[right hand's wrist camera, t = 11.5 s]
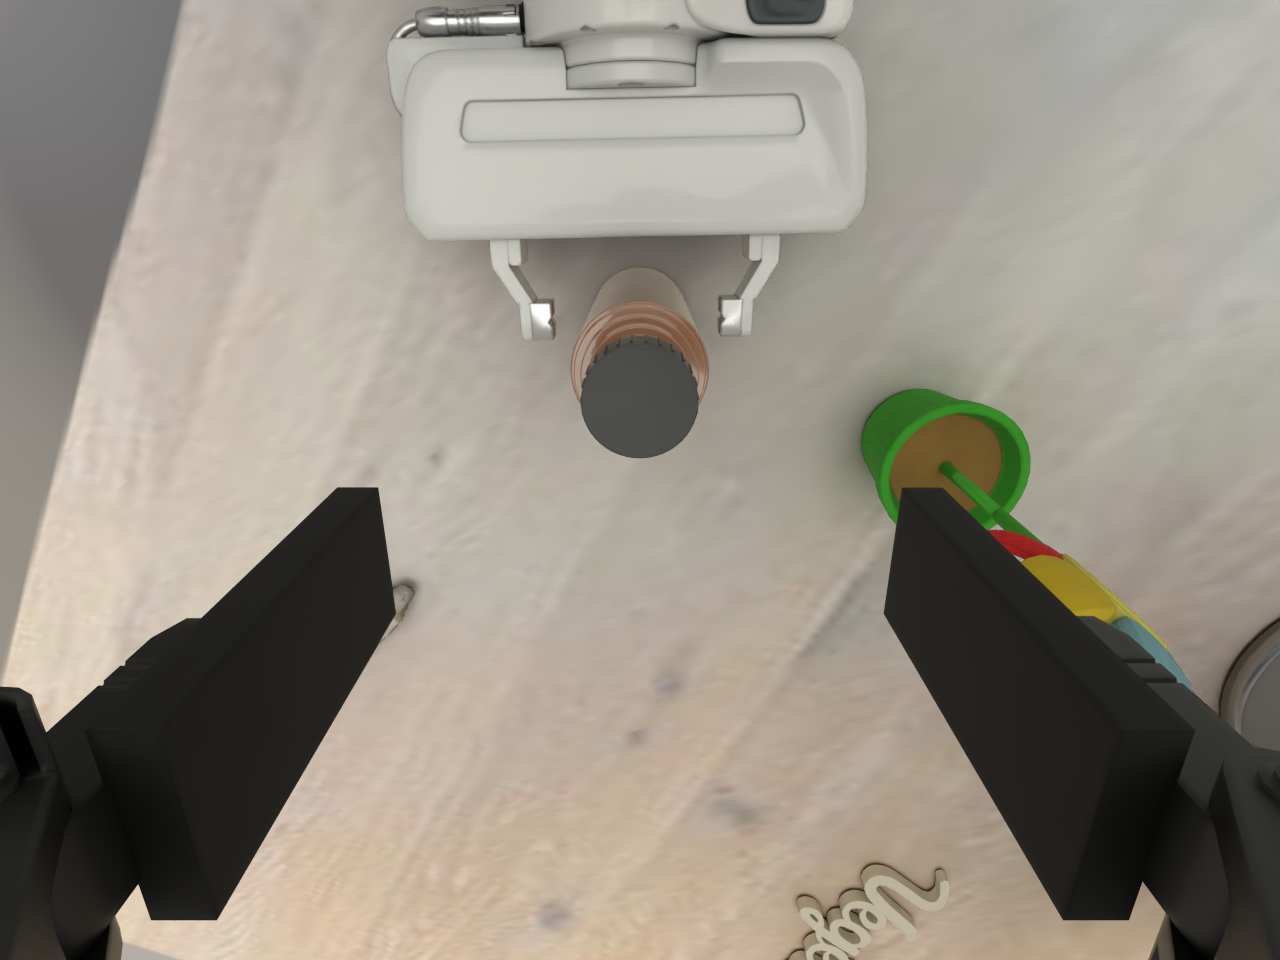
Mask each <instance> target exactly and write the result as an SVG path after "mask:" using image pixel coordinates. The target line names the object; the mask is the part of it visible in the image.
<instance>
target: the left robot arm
mask: <svg viewBox="0 0 1280 960" xmlns="http://www.w3.org/2000/svg"><path fill="white" fill-rule="evenodd" d="M853 3H854V0H523V2H522V4H519V5H515V4H512V5H492V6H479V7H474V8H472V9H471V8H467V9H459V10H458V9H448V8H447V7H428V8H423V9H420V10H417V11H416V15H415V19H412V20H409V21H407V22H405V23H404V24H402V25H401V26H400V27H399V28H398V29H397V30H396V31H395V33H394V34H393V36H392V38H391V40H390V42H389V44H388V49H387V67H388V75H389V82H390V90H391V96H392V100H393V103H394V106H395V108H396V110H397V111H398V113H399V115H400V116H401V117H402V183H403V197H404V207H405V213H406V217H407V220H408V221H409V223H410V224H411V225H412V226H413V227H414V229H415V230H416V231H417V232H418V233H419V234H420V235H421V236H422V237H423V238H424V239H425V240H427V241H460V240H489V242H490V253H491V264H492V268H493V269H494V271H495V272H496V274H497V275H498V277H499V278H500V280H501V281H502V283H503V284H504V286H505V287H506V289H507V290H508V292H509V293H510V295H511V296H512V298H513V299H514V301H515V302H516V304H519V308H520V320H521V332H522V338H523V340H527V341H533V340H554V337H555V336H556V321H555V320H554V319H553V317H552V316H553V315H554V313H555V303H554V299H537V298H538V297H537V296H536V294H535V293H534V291H533V289H532V288H531V286H530V285H529V283H528V281H527V280H526V278H525V276H524V275H523V273H522V272H521V270H520V268H519V267H518V265H521V264H523V263H525V262H526V261H527V260H528V250H527V239H556V238H603V237H651V236H699V235H743V256H744V257H745V258H747V259H749V260H751V261H753V262H752V264H751V265H750V267H749V269H748V271H747V272H746V274H745V276H744V278H743V280H742V281H741V283H740V285H739V287H738V288H737V290H736V292H735V295H718V310H719V311H720V313H721V314H720V316H719V317H718V333H719V334H720V336H751V331H752V314H753V299H756V297H757V296H758V294H759V292H760V291H761V289H762V288H763V286H764V284H765V283H766V281H767V279H768V278H769V276H770V275H771V273H772V271H773V270H774V268H775V266H776V265H777V263H778V261H779V248H780V234H794V233H839V232H843V231H845V230H846V229H847V228H848V227H849V226H850V225H851V224H852V222H853V221H854V220H855V219H856V217H857V216H858V215H859V213H860V212H861V210H862V208H863V205H864V199H865V189H866V172H867V119H866V100H865V90H864V84H863V79H862V75H861V71H860V69H859V66H858V64H857V62H856V60H855V59H854V57H853V56H852V54H851V53H850V52H849V51H848V50H847V49H846V48H845V47H844V46H842V45H841V44H839V43H837V42H835V41H834V40H835V39H836V38H837V37H838V36H839V35H840V34H841V33H842V32H843V30H844V29H845V27H846V26H847V24H848V22H849V20H850V18H851V14H852V10H853ZM416 30H418V33H419V35H420V36H422V37H423V38H405V37H406V36H407V35H408V34H410V33H411V32H413V31H416ZM524 34H525V38H524V37H523V36H524ZM462 35H463V36H467V37H452V36H462ZM468 35H469V36H468ZM525 39H526V46H527V47H525Z"/></svg>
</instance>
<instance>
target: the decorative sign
mask: <svg viewBox="0 0 1280 960" xmlns="http://www.w3.org/2000/svg"><path fill="white" fill-rule="evenodd" d="M935 876H936V883H935V887H934V888H933V889H932V890H931V891H923V890H921V889H919V888H918V887H916V886H915V885H914V884H912V883H911V882H910V881H908V880H907V879H905V878H904V877H903V876H901V875H900V874H898V873H897V872H896V871H894V870H893V869H891V868H889V867H887V866H883V865H871V866H869V867H867V868H866V869H865V870H864V871H863V872H862V874H861V881H862V884H863V887H864V890H865V892H864V891H860V890H850V891H847V892H845V893H844V894H842V895H841V897H840V899H839V905H840V908H834V909H831V910H830V911H829V912H828V914H827V920H825V919H823V916H822V912H821V908H820V905H819V903H818V902H817V901H816V900H815V899H813V898H811V897H807V896H803V897H800V898H798V900H797V905H798V909H799V914H800V917H801V918H802V920H803V921H805V922H806V923H807V924H808V925H809V926H810V927H811V928H812V929H814V930H815V933H812V934H810V935H808V936H807V937H806V938H805V939H804V949H805V951H796V952H794V953H793V954H792V955H791V956H790V959H789V960H850V959H848V955H847V953H849V954H851V955H853V956H856V955H857V954H858V953H859V952H860V948H861V947H865V946H867V945H868V944H869V943H870V942H871V940H872V938H871V934H870V931H869V929H871V930H877V929H881V928H883V927H885V925H886V923H887V920H886V917H887V918H888V919H889V920H890V921H891V922H892V923H893V924H894V925H895V926H896V927H897V928H898V929H899V930H900V931H901V932H902V933H903V934H904V935H905V936H906V937H907V939H908V940H909V941H911V940H913V939H915V938H916V937H917V934H918V932H917V929H916V926H915V924H914V921H913V919H912V917H911V916H910V915H909V914H908V913H907V912H906V911H905V910H903V909H902V908H901V907H900V906H899V905H897V904H896V903H895V902H894V901H893V900H892V899H891V898H889V897H888V896H887V895H886V894H885V893H884V892H883V891H882V889H881V888H880V887H879V886H881V885H883V886H887V887H889V888H891V889H893V890H894V891H896V892H897V893H899V894H900V895H901V896H903V897H904V898H905V899H907V900H908V901H910V902H911V903H913V904H914V905H916V906H917V907H919V908H920V909H922V910H925V911H930V912H932V911H938V910H940V909H941V908H942V907H943V906H944V905H945V903H946V901H947V899H948V896H949V892H950V885H949V881H948V879H947V877H946V874H945V872H944V871H943V870H937V871H936V872H935ZM855 908H857V911H858V914H859V916H858V915H856V914H854V913H853V912H851V911H850V910H851V909H855ZM868 911H869V912H868ZM841 927H846V928H848V929H850V930H852V931H854V932H855V933H849V932H847V931H845V930H844V929H842V928H841ZM816 951H821V952H822V957H823V958H821V957H820V956H818V955H815V954H814V952H816Z"/></svg>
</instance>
